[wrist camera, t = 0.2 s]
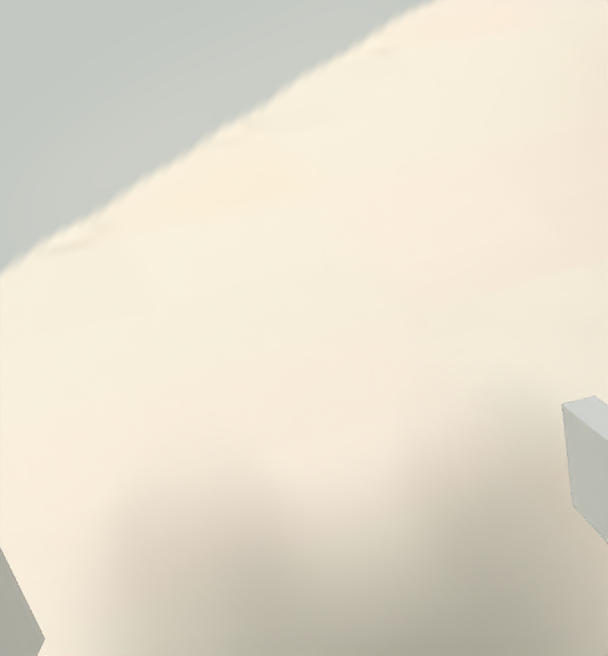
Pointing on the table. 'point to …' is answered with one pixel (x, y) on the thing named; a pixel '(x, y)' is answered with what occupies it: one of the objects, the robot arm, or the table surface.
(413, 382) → the table surface
